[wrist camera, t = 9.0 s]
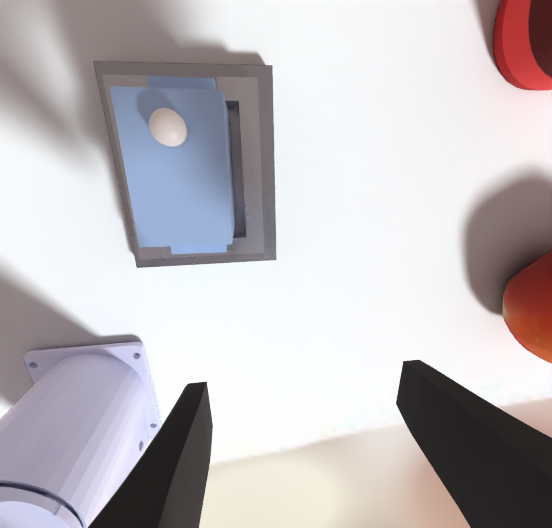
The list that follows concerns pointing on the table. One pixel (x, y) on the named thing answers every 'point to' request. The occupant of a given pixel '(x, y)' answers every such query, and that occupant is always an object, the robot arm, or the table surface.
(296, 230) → the table surface
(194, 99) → the servo
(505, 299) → the tomato
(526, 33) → the canned food
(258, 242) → the mount plate
